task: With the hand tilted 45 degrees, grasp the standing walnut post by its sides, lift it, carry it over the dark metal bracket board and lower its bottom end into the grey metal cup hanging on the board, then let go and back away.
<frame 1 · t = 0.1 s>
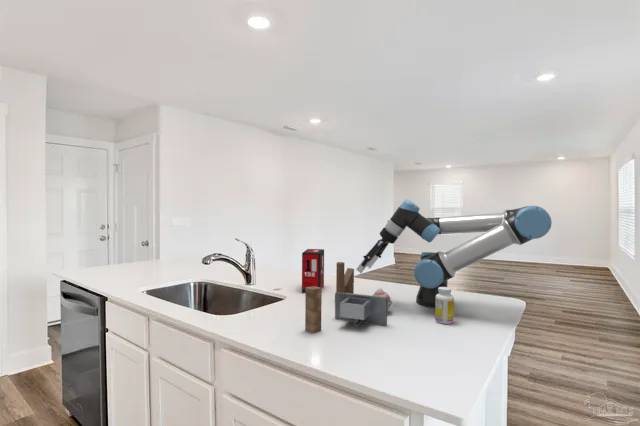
hand: (363, 269, 163), 15 cm above the worktop, tool tilted 35°, fingers open, 13 cm apart
supplement bottle: (444, 322, 138), on the worktop
cleaning product box: (313, 289, 189), on the worktop
cup bracket: (355, 325, 133), on the worktop
post: (313, 330, 128), on the worktop
cupcake: (380, 313, 150), on the worktop
wooden block: (344, 300, 168), on the worktop
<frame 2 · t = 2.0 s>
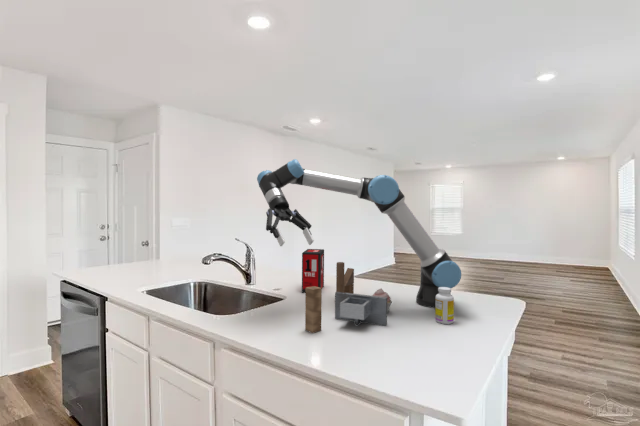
hand: (297, 243, 136), 30 cm above the worktop, tool tilted 45°, fingers open, 13 cm apart
nothing on the worktop moved.
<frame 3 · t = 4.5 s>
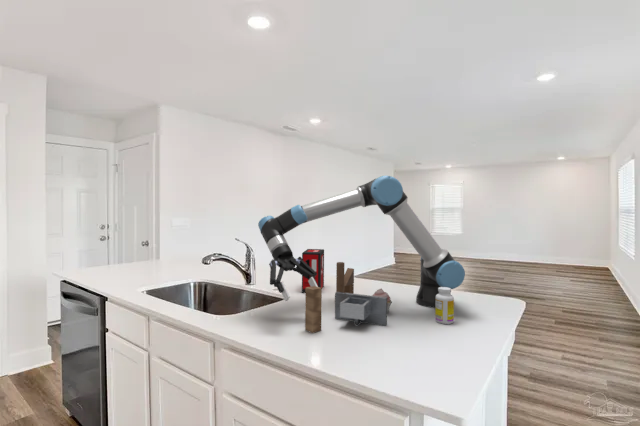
hand: (303, 296, 131), 11 cm above the worktop, tool tilted 45°, fingers open, 13 cm apart
nothing on the worktop moved.
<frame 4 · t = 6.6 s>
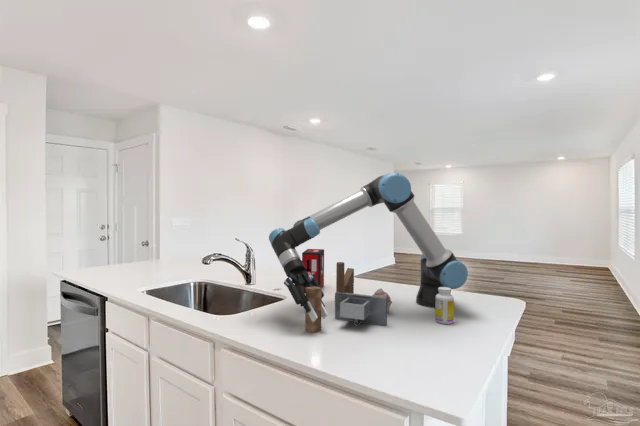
hand: (320, 318, 125), 5 cm above the worktop, tool tilted 45°, fingers closed on post, 4 cm apart
post: (313, 330, 128), on the worktop, touching gripper
everything else where it was.
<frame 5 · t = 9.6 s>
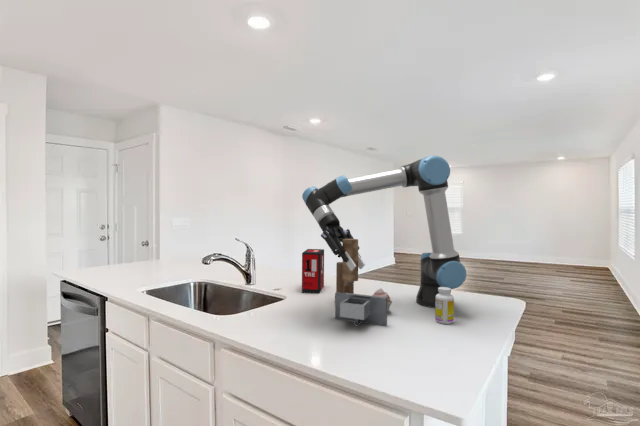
hand: (358, 267, 129), 22 cm above the worktop, tool tilted 45°, fingers closed on post, 4 cm apart
post: (350, 280, 132), point 17 cm above the worktop, touching gripper
everything else where it was.
when the fingers open (12 cm above the worktop, at t = 12.6 s): post drops 1 cm, resting on cup bracket.
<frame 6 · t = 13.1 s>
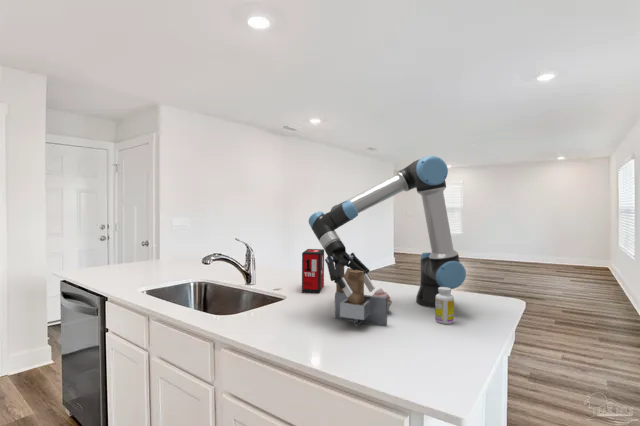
hand: (361, 292, 131), 13 cm above the worktop, tool tilted 45°, fingers open, 11 cm apart
post: (355, 312, 133), point 5 cm above the worktop, touching cup bracket
everything else where it was.
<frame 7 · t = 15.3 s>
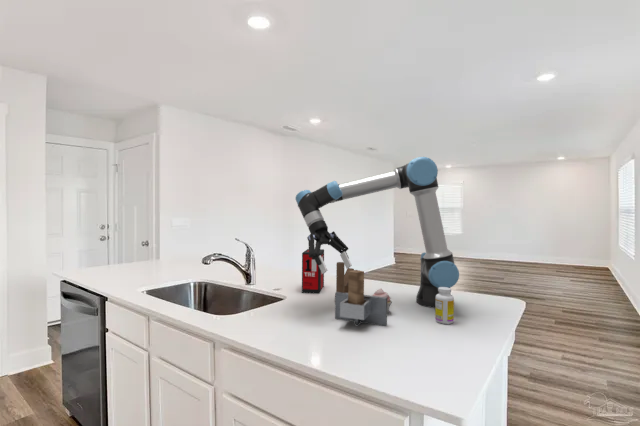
hand: (337, 269, 143), 19 cm above the worktop, tool tilted 35°, fingers open, 13 cm apart
nothing on the worktop moved.
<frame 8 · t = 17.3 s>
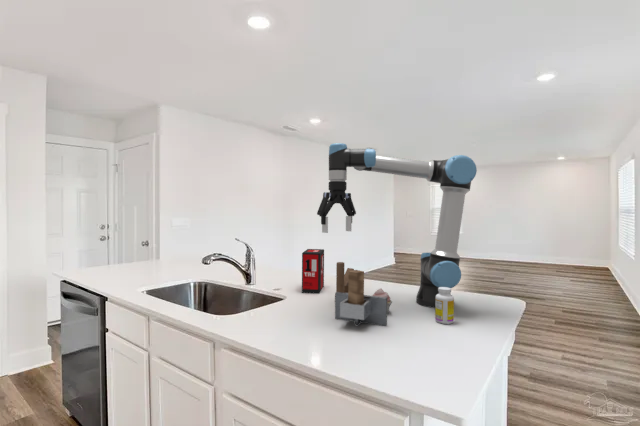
hand: (337, 232, 153), 33 cm above the worktop, tool pointing down, fingers open, 13 cm apart
nothing on the worktop moved.
at the end: post 0.0 cm off-centre on the cup bracket, point 5.0 cm above the cup bracket's base; post tilted 0°; the gripper is holding nothing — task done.
